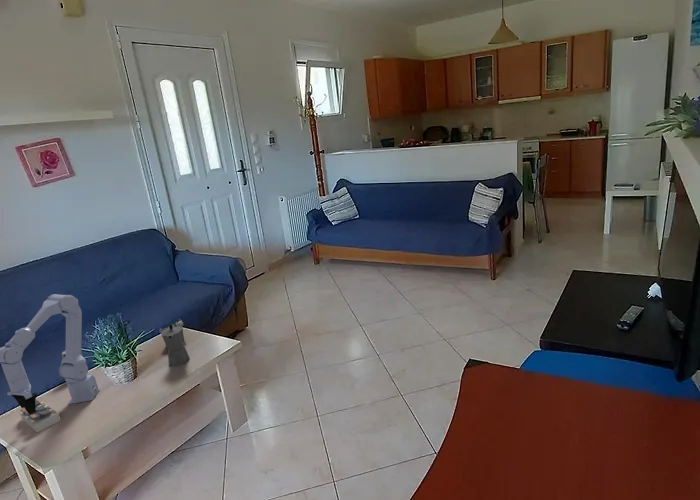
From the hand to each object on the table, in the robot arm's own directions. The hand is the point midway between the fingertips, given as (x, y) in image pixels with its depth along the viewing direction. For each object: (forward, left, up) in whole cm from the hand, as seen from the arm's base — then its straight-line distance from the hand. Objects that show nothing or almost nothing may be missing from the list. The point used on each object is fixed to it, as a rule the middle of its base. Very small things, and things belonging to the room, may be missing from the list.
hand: (28, 409), depth 167 cm
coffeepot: (-45, -36, -8) cm, 58 cm away
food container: (-40, -55, -8) cm, 68 cm away
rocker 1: (+4, -8, -3) cm, 10 cm away
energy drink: (+2, -39, -8) cm, 39 cm away
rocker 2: (+1, -5, -3) cm, 6 cm away
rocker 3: (-3, -1, -3) cm, 4 cm away
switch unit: (0, -5, -8) cm, 9 cm away
